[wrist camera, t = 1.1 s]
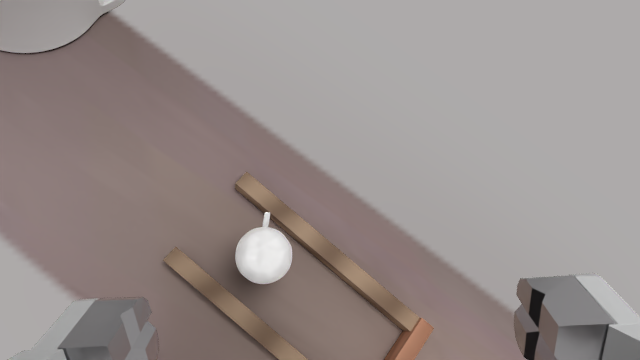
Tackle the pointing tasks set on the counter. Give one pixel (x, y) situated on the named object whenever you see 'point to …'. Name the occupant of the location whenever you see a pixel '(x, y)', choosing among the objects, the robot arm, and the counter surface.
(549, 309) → the robot arm
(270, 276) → the milkshake
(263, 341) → the rail guide
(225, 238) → the counter surface
